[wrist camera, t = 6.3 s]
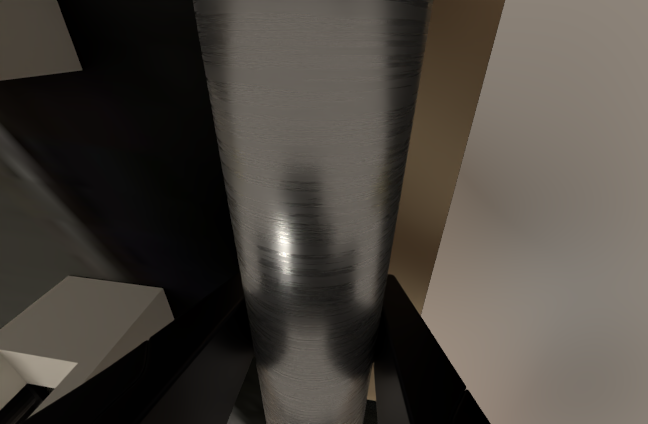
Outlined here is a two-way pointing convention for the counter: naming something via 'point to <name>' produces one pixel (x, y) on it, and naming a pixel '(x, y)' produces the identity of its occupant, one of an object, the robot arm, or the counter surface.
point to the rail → (313, 181)
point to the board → (439, 136)
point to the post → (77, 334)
